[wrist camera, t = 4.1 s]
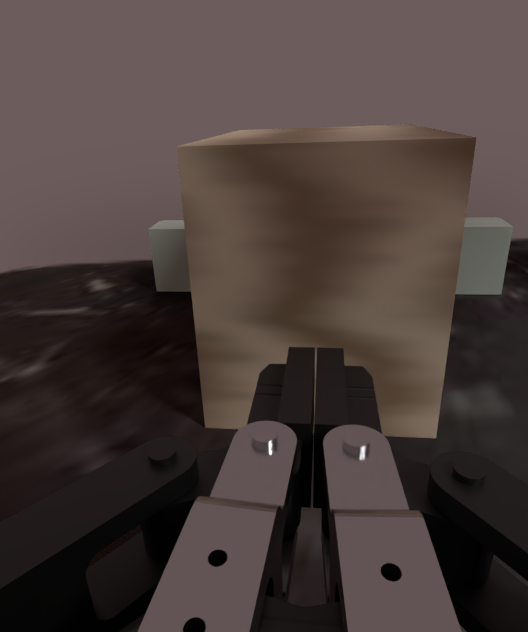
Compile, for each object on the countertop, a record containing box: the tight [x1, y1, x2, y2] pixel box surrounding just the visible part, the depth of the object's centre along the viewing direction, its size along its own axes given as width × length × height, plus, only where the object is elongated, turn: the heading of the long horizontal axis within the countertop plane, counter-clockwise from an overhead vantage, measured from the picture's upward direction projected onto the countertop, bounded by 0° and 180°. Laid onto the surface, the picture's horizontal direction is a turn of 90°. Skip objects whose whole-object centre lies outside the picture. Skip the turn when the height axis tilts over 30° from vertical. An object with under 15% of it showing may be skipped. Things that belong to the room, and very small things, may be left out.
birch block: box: [176, 125, 476, 438], centre depth 24 cm, size 10×13×12 cm
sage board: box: [148, 217, 513, 295], centre depth 36 cm, size 26×3×5 cm, turn 83°
